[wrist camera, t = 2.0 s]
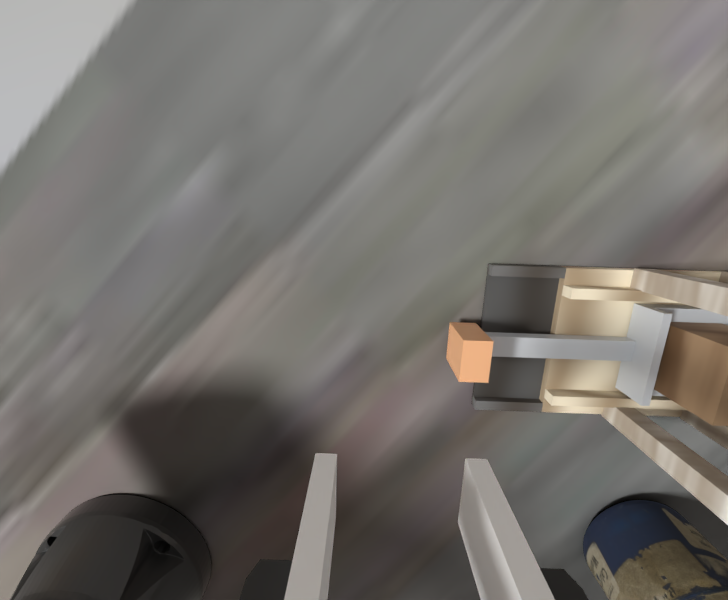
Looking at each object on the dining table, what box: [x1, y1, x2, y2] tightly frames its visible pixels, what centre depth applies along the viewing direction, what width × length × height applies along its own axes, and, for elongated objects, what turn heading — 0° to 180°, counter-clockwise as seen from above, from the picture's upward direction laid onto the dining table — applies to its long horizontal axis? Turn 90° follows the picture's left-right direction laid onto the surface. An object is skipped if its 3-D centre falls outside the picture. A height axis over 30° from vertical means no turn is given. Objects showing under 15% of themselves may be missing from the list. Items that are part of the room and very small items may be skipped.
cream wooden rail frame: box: [472, 264, 728, 525], centre depth 22 cm, size 26×12×13 cm, turn 88°
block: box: [654, 322, 728, 426], centre depth 24 cm, size 4×5×6 cm
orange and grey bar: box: [446, 303, 728, 406], centre depth 26 cm, size 21×7×4 cm, turn 88°
